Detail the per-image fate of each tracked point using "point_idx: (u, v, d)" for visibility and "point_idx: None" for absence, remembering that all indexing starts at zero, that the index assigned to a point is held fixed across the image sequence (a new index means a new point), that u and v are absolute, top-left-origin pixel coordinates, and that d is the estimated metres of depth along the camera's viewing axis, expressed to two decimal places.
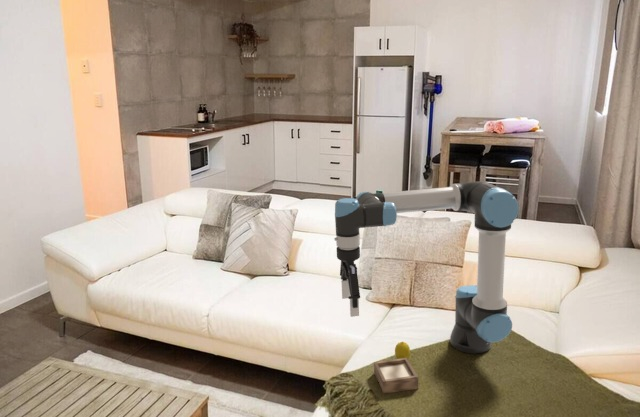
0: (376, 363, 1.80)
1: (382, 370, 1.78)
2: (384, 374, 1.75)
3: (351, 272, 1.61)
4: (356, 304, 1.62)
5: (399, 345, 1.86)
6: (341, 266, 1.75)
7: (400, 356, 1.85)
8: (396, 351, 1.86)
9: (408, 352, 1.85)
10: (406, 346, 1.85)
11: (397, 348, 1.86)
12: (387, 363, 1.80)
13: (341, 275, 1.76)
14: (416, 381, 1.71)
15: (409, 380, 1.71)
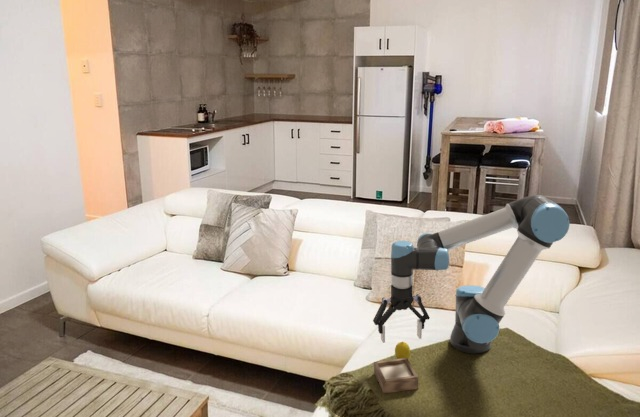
0: (376, 363, 1.80)
1: (382, 370, 1.78)
2: (384, 374, 1.75)
3: (382, 302, 1.81)
4: (379, 330, 1.83)
5: (399, 345, 1.86)
6: (419, 305, 1.85)
7: (400, 356, 1.85)
8: (396, 351, 1.86)
9: (408, 352, 1.85)
10: (406, 346, 1.85)
11: (397, 348, 1.86)
12: (387, 363, 1.80)
13: (420, 314, 1.86)
14: (416, 381, 1.71)
15: (409, 380, 1.71)
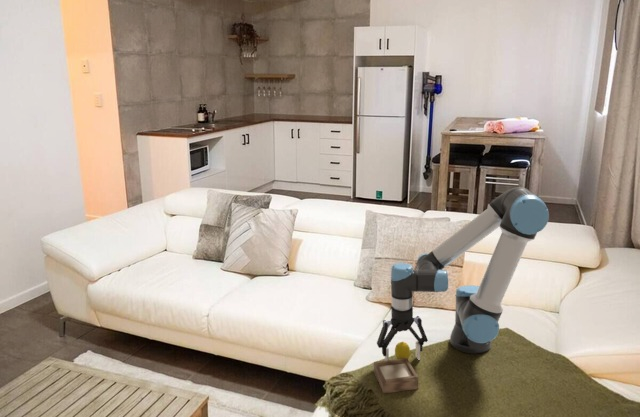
0: (376, 363, 1.80)
1: (382, 370, 1.78)
2: (384, 374, 1.75)
3: (383, 324, 1.84)
4: (382, 352, 1.86)
5: (399, 345, 1.86)
6: (418, 327, 1.87)
7: (400, 356, 1.85)
8: (396, 351, 1.86)
9: (408, 352, 1.85)
10: (406, 346, 1.85)
11: (397, 348, 1.86)
12: (387, 363, 1.80)
13: None
14: (416, 381, 1.71)
15: (409, 380, 1.71)
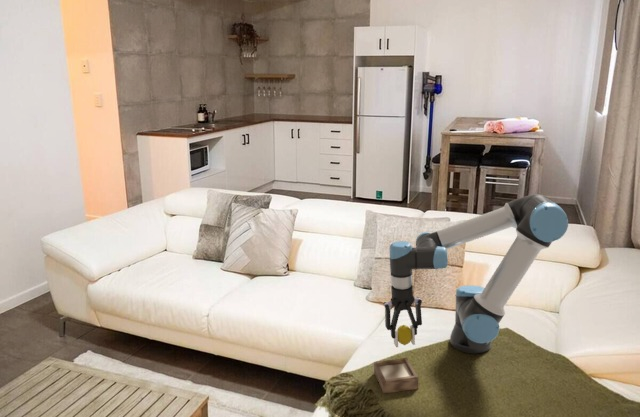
0: (376, 363, 1.80)
1: (382, 370, 1.78)
2: (384, 374, 1.75)
3: None
4: (391, 335, 1.84)
5: (400, 328, 1.84)
6: None
7: (402, 339, 1.83)
8: None
9: (410, 335, 1.83)
10: (407, 329, 1.83)
11: (398, 331, 1.84)
12: (387, 363, 1.80)
13: None
14: (416, 381, 1.71)
15: (409, 380, 1.71)
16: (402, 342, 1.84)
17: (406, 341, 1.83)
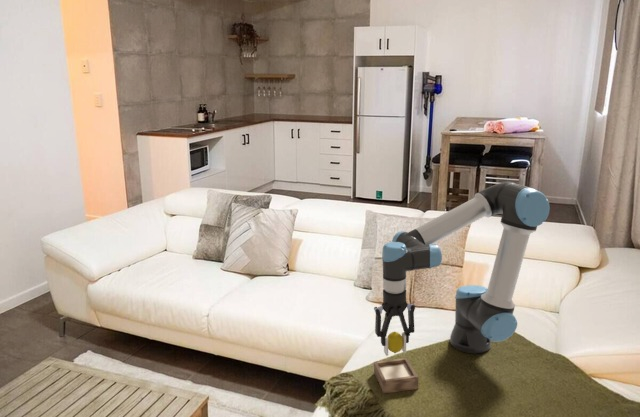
0: (376, 363, 1.80)
1: (382, 370, 1.78)
2: (384, 374, 1.75)
3: (375, 312, 1.70)
4: (381, 342, 1.72)
5: (391, 335, 1.71)
6: (408, 315, 1.73)
7: (392, 347, 1.71)
8: (388, 342, 1.72)
9: (401, 343, 1.71)
10: (399, 336, 1.71)
11: (389, 338, 1.71)
12: (387, 363, 1.80)
13: None
14: (416, 381, 1.71)
15: (409, 380, 1.71)
16: (392, 350, 1.71)
17: (397, 349, 1.71)
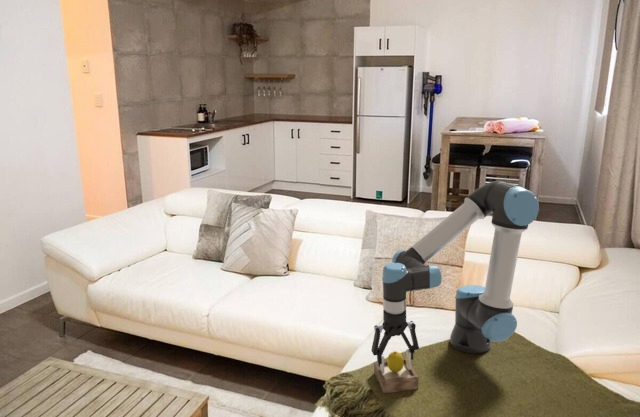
0: (376, 363, 1.80)
1: None
2: (384, 374, 1.75)
3: (375, 330, 1.71)
4: (378, 360, 1.73)
5: (392, 355, 1.73)
6: None
7: (393, 367, 1.73)
8: (388, 361, 1.74)
9: (401, 363, 1.73)
10: (399, 356, 1.73)
11: (389, 358, 1.73)
12: None
13: None
14: (416, 381, 1.71)
15: (409, 380, 1.71)
16: (393, 370, 1.73)
17: (397, 369, 1.73)
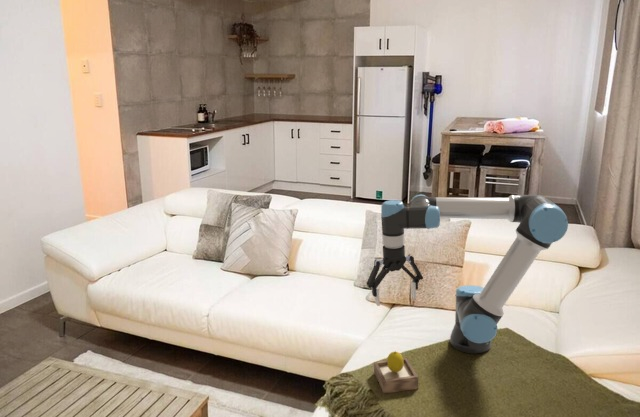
0: (376, 363, 1.80)
1: (382, 370, 1.78)
2: (384, 374, 1.75)
3: (374, 264, 1.79)
4: (373, 293, 1.80)
5: (392, 355, 1.73)
6: None
7: (393, 367, 1.73)
8: (388, 361, 1.74)
9: (401, 363, 1.73)
10: (399, 356, 1.73)
11: (389, 358, 1.73)
12: None
13: None
14: (416, 381, 1.71)
15: (409, 380, 1.71)
16: (393, 370, 1.73)
17: (397, 369, 1.73)
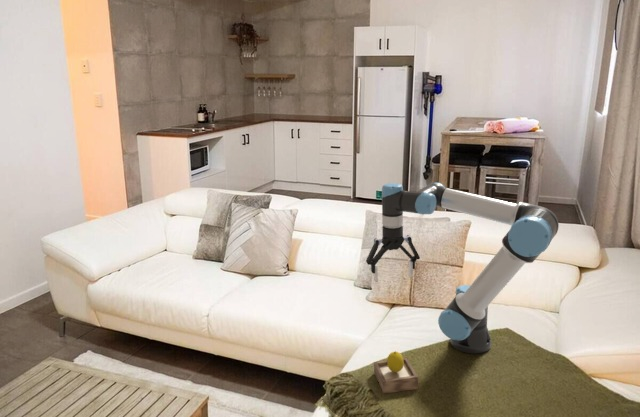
0: (376, 363, 1.80)
1: (382, 370, 1.78)
2: (384, 374, 1.75)
3: (374, 242, 1.90)
4: (371, 270, 1.92)
5: (392, 355, 1.73)
6: None
7: (393, 367, 1.73)
8: (388, 361, 1.74)
9: (401, 363, 1.73)
10: (399, 356, 1.73)
11: (389, 358, 1.73)
12: None
13: None
14: (416, 381, 1.71)
15: (409, 380, 1.71)
16: (393, 370, 1.73)
17: (397, 369, 1.73)
